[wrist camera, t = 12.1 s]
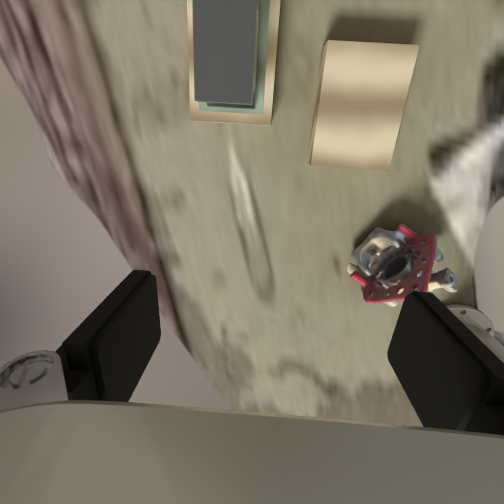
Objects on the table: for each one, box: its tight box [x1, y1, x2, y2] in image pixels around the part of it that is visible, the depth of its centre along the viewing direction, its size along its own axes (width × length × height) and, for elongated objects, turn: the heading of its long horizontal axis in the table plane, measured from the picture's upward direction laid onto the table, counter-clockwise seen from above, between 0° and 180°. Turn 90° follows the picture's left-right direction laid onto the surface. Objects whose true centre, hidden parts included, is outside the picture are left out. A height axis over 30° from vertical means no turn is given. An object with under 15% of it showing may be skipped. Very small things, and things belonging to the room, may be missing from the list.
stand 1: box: [187, 0, 280, 126], centre depth 30 cm, size 12×9×3 cm
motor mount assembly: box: [347, 224, 457, 307], centre depth 36 cm, size 11×11×12 cm
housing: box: [192, 0, 261, 110], centre depth 26 cm, size 9×5×7 cm, turn 177°
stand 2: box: [307, 40, 419, 171], centre depth 31 cm, size 12×9×3 cm
